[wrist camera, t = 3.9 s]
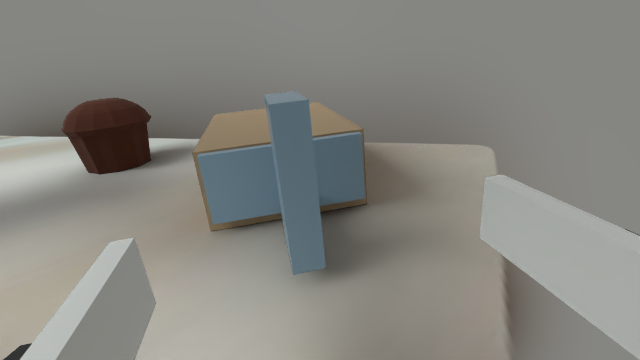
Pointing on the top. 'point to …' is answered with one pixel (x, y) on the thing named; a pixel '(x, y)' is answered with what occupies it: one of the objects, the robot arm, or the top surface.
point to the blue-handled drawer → (286, 178)
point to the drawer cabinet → (254, 132)
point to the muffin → (109, 134)
